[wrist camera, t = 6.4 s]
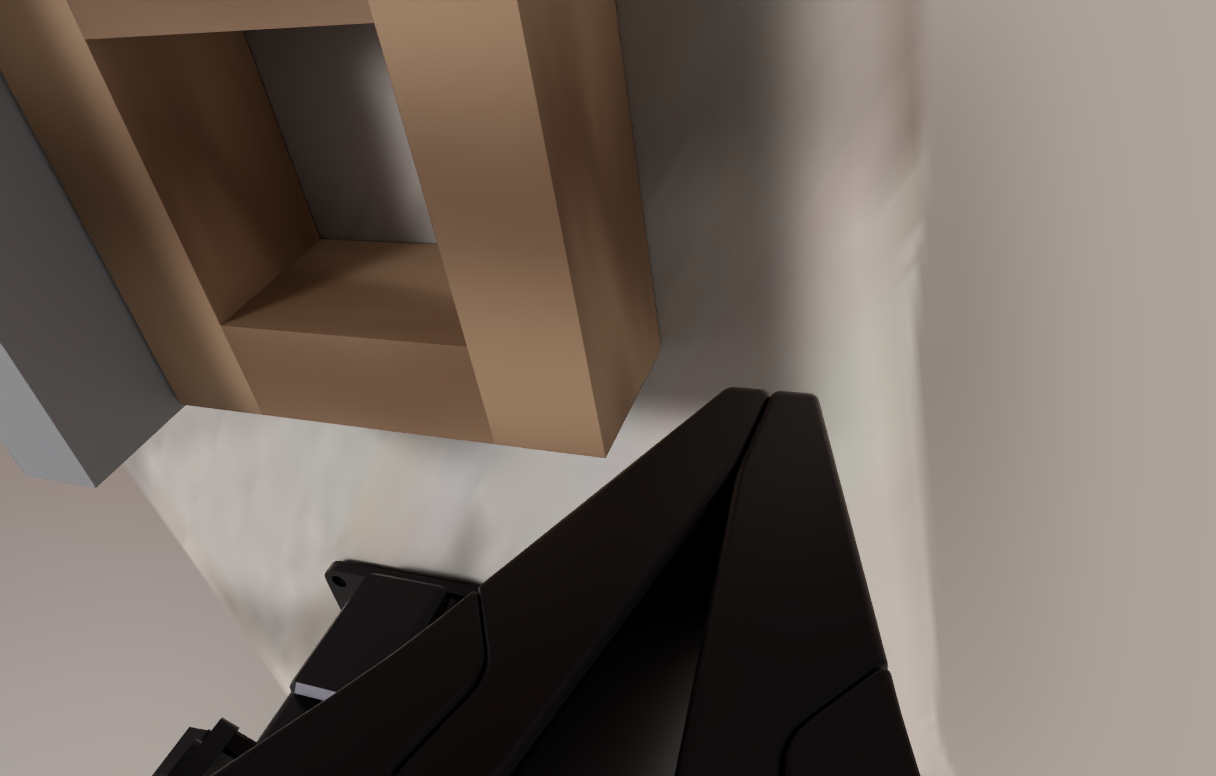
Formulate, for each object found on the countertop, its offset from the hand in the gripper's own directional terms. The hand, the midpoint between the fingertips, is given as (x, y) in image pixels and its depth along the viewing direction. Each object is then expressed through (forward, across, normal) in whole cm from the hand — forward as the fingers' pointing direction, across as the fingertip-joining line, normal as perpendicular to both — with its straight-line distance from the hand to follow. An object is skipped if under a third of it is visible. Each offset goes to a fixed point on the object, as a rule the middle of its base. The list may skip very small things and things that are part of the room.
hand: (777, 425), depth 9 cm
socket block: (+8, +9, 0) cm, 12 cm away
